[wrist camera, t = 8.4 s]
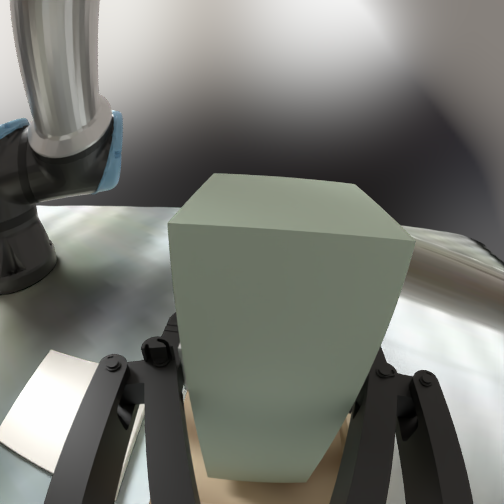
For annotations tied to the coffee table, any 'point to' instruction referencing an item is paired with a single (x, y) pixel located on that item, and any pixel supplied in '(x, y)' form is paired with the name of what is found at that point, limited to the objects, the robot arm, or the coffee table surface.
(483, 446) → the coffee table surface
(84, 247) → the coffee table surface
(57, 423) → the pad
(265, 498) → the shallow wooden tray
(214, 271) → the tall block
